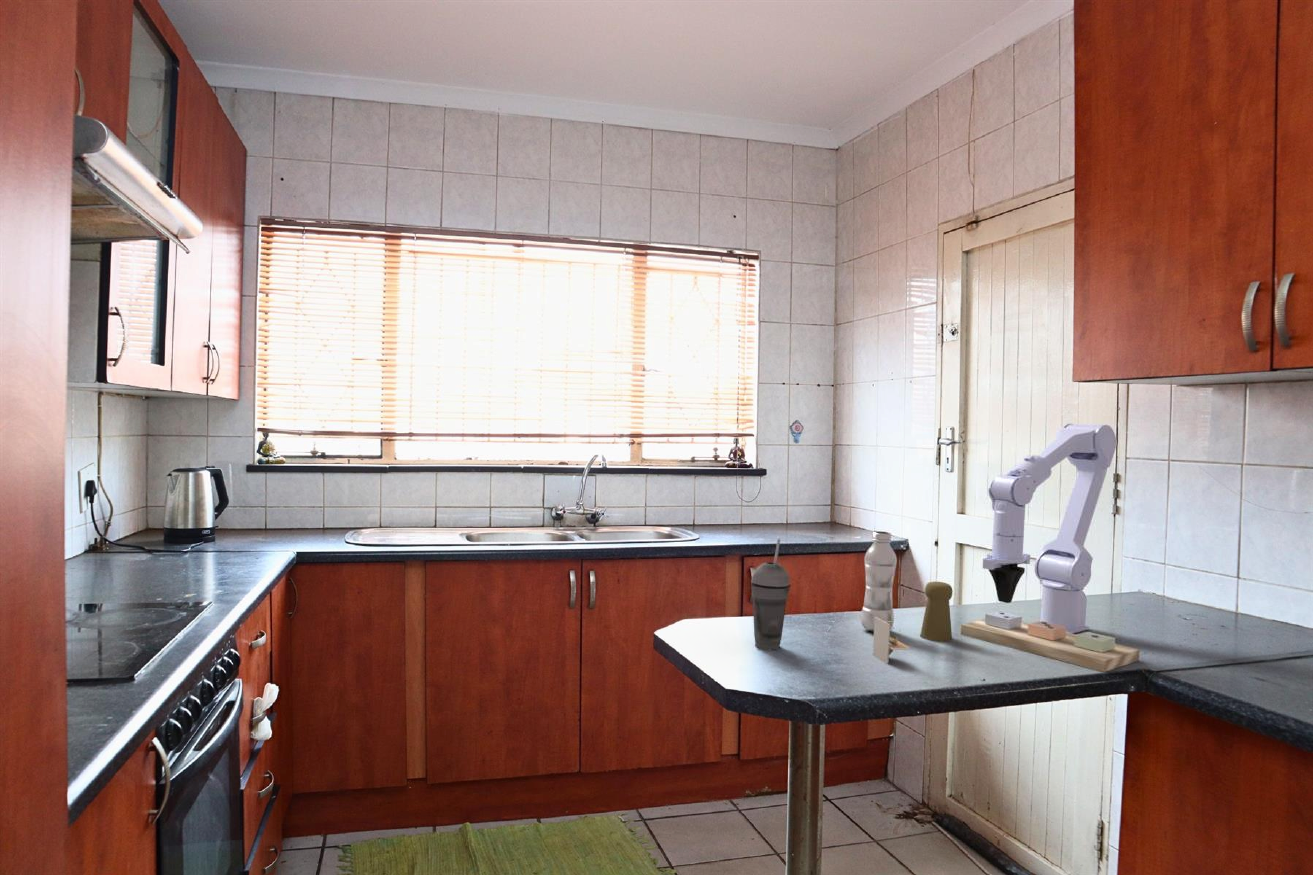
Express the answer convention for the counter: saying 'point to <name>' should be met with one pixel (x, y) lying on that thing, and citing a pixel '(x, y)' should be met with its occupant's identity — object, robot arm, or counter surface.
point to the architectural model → (885, 640)
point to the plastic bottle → (879, 580)
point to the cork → (937, 612)
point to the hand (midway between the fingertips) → (1004, 601)
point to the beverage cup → (769, 603)
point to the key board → (1052, 646)
